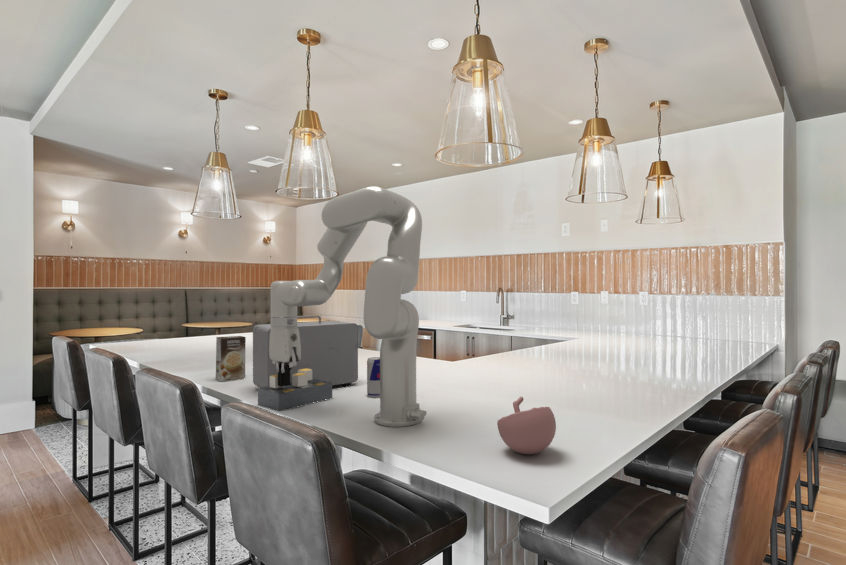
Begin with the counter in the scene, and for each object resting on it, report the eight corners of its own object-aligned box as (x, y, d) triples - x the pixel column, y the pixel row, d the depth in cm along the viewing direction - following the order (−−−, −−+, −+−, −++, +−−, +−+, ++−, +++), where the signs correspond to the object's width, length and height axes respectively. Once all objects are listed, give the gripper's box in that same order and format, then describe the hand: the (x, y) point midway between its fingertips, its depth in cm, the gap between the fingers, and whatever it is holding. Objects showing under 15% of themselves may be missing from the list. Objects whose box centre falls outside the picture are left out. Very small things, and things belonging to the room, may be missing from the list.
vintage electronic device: (335, 377, 180) (335, 312, 180) (358, 385, 165) (357, 314, 165) (251, 388, 161) (251, 316, 161) (267, 398, 146) (267, 319, 147)
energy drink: (383, 398, 146) (382, 359, 146) (366, 398, 146) (365, 359, 147) (384, 394, 152) (384, 357, 152) (368, 394, 152) (368, 357, 152)
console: (332, 398, 146) (332, 381, 146) (278, 411, 131) (278, 392, 131) (310, 393, 153) (310, 377, 153) (257, 405, 138) (257, 387, 138)
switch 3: (307, 384, 141) (307, 373, 141) (298, 386, 139) (298, 375, 139) (301, 383, 143) (301, 372, 143) (292, 385, 140) (292, 374, 141)
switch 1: (285, 386, 139) (285, 375, 139) (275, 388, 137) (275, 376, 137) (279, 385, 141) (279, 373, 141) (269, 387, 138) (269, 375, 138)
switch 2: (312, 379, 149) (312, 369, 149) (303, 381, 146) (303, 370, 146) (306, 378, 151) (306, 368, 151) (297, 380, 148) (297, 369, 148)
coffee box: (220, 382, 171) (220, 338, 171) (215, 379, 176) (215, 337, 176) (245, 378, 177) (245, 336, 177) (240, 376, 182) (240, 335, 182)
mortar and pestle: (529, 439, 106) (529, 389, 106) (568, 456, 96) (568, 400, 96) (486, 448, 101) (486, 395, 101) (523, 467, 90) (522, 408, 90)
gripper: (310, 323, 135) (310, 387, 135) (280, 320, 144) (280, 380, 144) (287, 325, 129) (287, 391, 129) (258, 322, 139) (258, 384, 138)
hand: (284, 385), depth 137 cm, fingers closed
